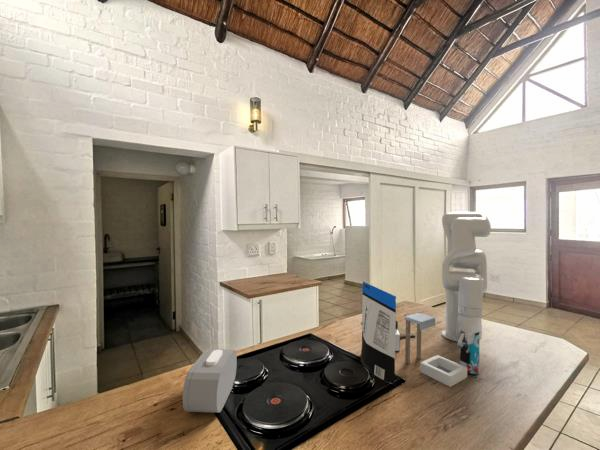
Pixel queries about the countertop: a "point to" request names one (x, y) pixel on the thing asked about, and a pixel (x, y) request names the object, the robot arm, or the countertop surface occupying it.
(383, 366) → the protein powder
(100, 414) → the countertop surface
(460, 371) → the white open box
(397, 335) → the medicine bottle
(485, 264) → the robot arm
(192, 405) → the alarm clock
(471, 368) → the beverage can
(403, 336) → the dish towel
